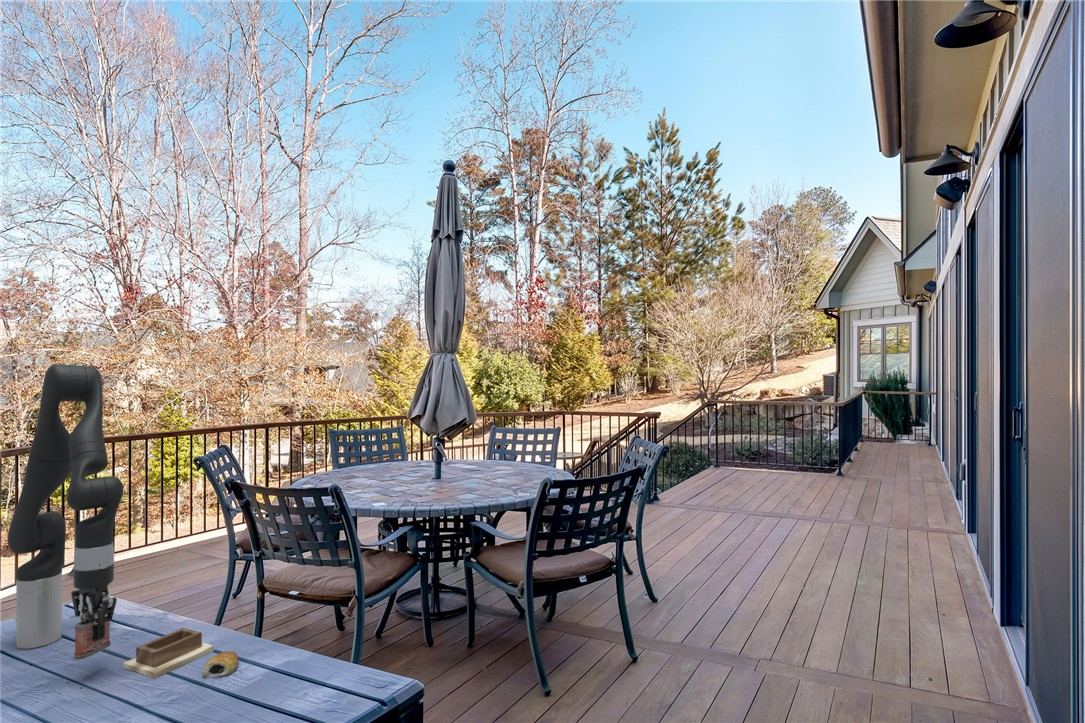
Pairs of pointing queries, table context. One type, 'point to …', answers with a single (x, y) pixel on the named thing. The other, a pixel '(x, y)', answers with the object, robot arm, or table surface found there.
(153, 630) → the table surface
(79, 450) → the robot arm
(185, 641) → the wooden box with base
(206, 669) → the pastry
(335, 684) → the table surface
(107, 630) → the lighter
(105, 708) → the table surface
